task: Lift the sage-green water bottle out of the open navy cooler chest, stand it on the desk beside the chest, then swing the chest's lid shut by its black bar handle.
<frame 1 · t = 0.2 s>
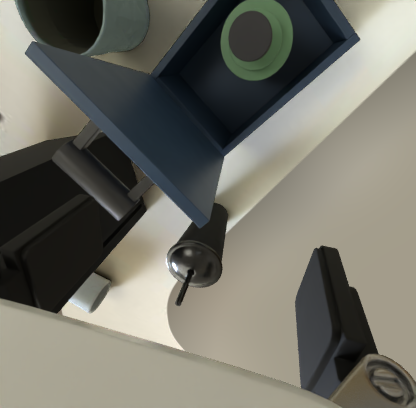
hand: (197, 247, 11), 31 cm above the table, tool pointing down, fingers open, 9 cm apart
green tapered pot: (121, 16, 36), on the table
gaming console: (98, 176, 49), on the table
ceramic mug: (96, 280, 63), on the table
drinking cup: (214, 214, 47), on the table
cooler: (250, 59, 35), on the table
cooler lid: (149, 145, 23), point 18 cm above the table, hinge at 80.0°
water bottle: (262, 46, 33), point 1 cm above the table, touching cooler
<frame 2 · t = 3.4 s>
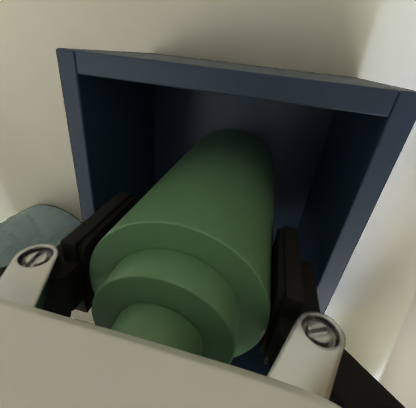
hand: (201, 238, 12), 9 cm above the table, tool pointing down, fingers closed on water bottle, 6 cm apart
green tapered pot: (62, 241, 27), on the table
cooler: (227, 194, 20), on the table
water bottle: (229, 174, 19), point 1 cm above the table, touching cooler, gripper
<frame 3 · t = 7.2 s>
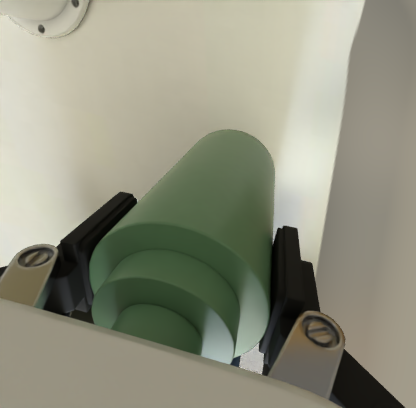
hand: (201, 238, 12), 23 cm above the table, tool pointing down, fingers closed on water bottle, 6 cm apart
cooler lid: (173, 405, 29), point 18 cm above the table, hinge at 80.0°
water bottle: (229, 174, 19), point 15 cm above the table, touching gripper
when the fingers open (8 cm above the table, at t = 10.8 s): water bottle stays where it is, on the table.
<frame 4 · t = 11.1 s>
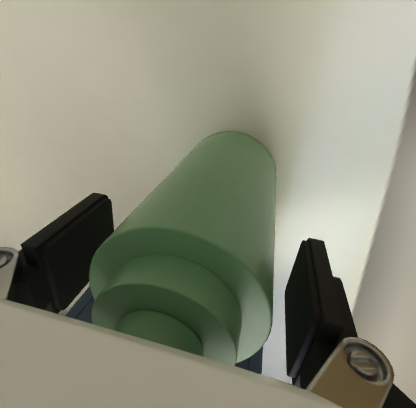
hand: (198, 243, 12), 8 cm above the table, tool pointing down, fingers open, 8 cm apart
cooler: (187, 324, 27), on the table
water bottle: (230, 176, 19), on the table
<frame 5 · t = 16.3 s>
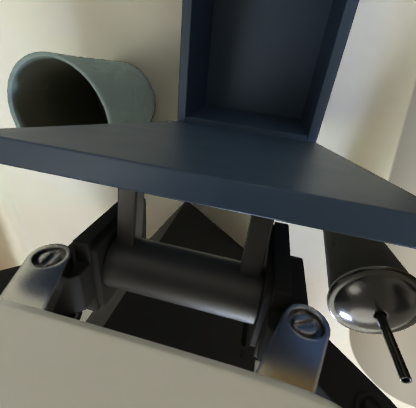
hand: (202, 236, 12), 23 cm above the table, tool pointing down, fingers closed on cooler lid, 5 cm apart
green tapered pot: (126, 100, 34), on the table
gaming console: (195, 258, 44), on the table
drinking cup: (342, 221, 35), on the table
cooler: (266, 28, 27), on the table
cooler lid: (222, 185, 16), point 18 cm above the table, hinge at 80.0°, touching gripper
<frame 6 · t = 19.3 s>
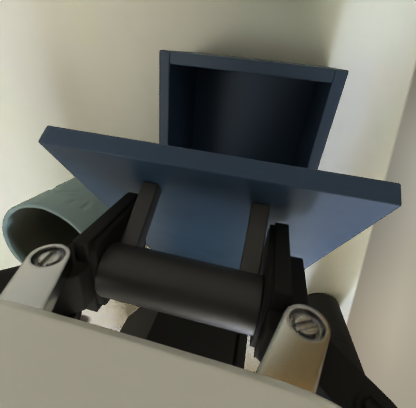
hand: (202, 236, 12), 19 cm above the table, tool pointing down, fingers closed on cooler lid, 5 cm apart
green tapered pot: (115, 195, 36), on the table
gaming console: (184, 324, 46), on the table
drinking cup: (319, 304, 37), on the table
cooler: (242, 150, 29), on the table
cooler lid: (206, 271, 17), point 16 cm above the table, hinge at 37.4°, touching gripper
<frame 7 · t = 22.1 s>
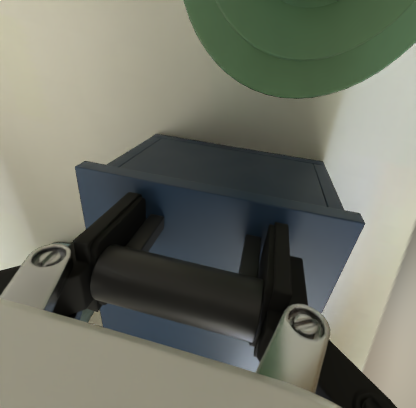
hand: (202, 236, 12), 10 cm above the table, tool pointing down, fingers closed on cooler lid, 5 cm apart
cooler: (221, 240, 24), on the table
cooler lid: (183, 357, 14), point 11 cm above the table, hinge at 1.2°, touching gripper
water bottle: (291, 16, 15), on the table
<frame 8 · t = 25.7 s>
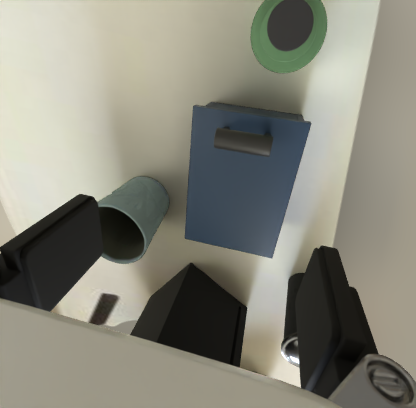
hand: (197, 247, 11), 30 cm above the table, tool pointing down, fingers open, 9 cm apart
green tapered pot: (148, 198, 48), on the table
gaming console: (197, 300, 58), on the table
drinking cup: (301, 282, 49), on the table
cooler: (244, 167, 41), on the table
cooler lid: (234, 198, 31), point 11 cm above the table, hinge at 1.1°
water bottle: (284, 40, 32), on the table
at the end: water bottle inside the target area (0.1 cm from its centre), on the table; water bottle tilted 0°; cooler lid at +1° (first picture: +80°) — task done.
